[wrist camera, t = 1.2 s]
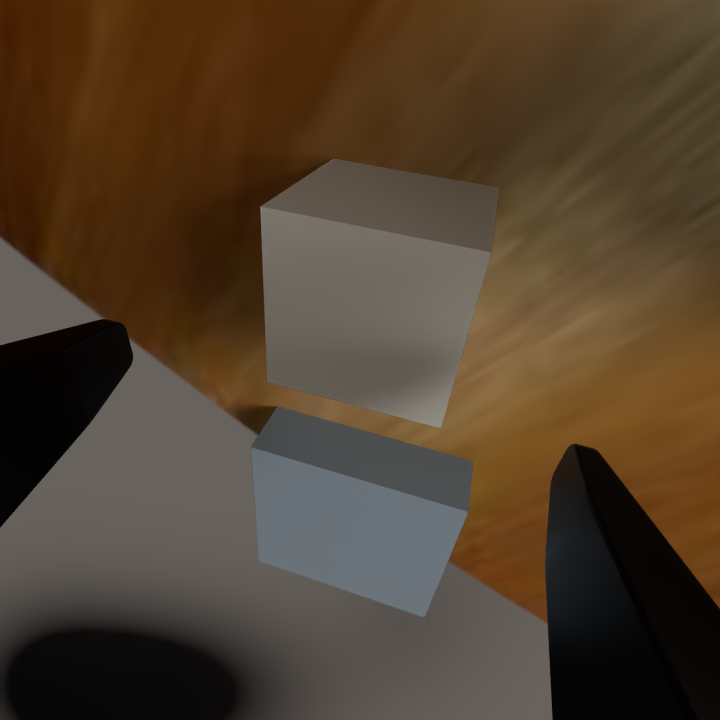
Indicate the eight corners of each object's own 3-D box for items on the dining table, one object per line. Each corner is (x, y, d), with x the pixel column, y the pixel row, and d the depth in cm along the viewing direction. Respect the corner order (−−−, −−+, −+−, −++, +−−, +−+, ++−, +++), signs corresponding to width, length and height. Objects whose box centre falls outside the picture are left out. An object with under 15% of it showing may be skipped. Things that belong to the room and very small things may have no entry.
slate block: (474, 454, 19) (468, 511, 17) (433, 562, 25) (424, 617, 22) (280, 401, 21) (250, 447, 19) (282, 514, 26) (259, 560, 24)
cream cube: (499, 186, 13) (491, 252, 9) (459, 331, 16) (440, 428, 12) (334, 157, 14) (260, 206, 10) (325, 301, 17) (267, 381, 13)
